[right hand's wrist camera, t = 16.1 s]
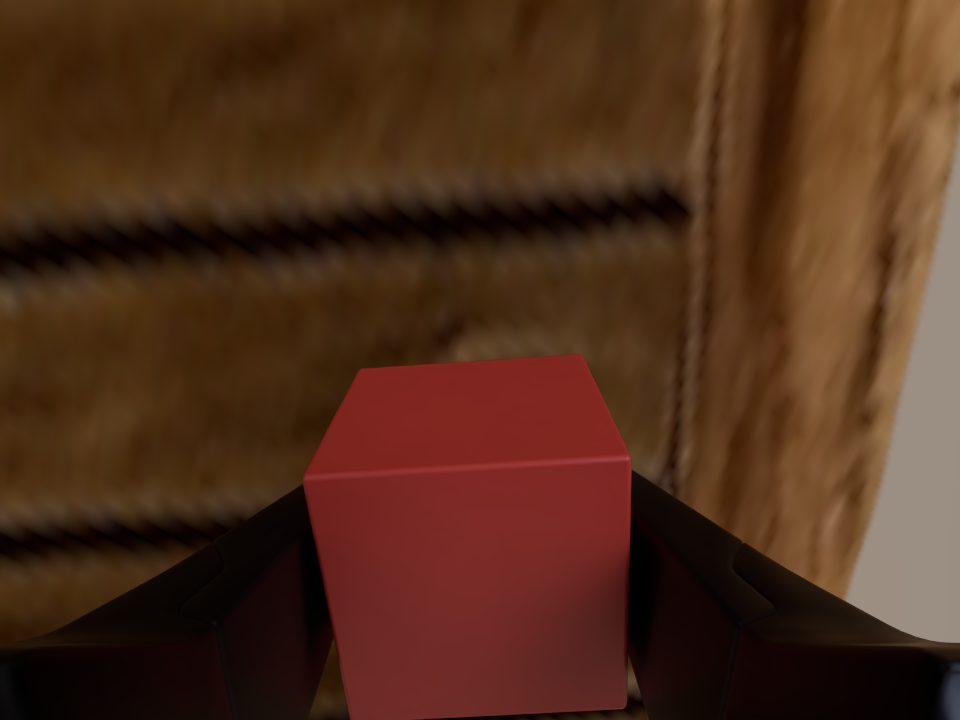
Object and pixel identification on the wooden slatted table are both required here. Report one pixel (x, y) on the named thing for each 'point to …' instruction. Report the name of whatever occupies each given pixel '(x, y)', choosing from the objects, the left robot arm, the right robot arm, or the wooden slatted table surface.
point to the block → (475, 540)
